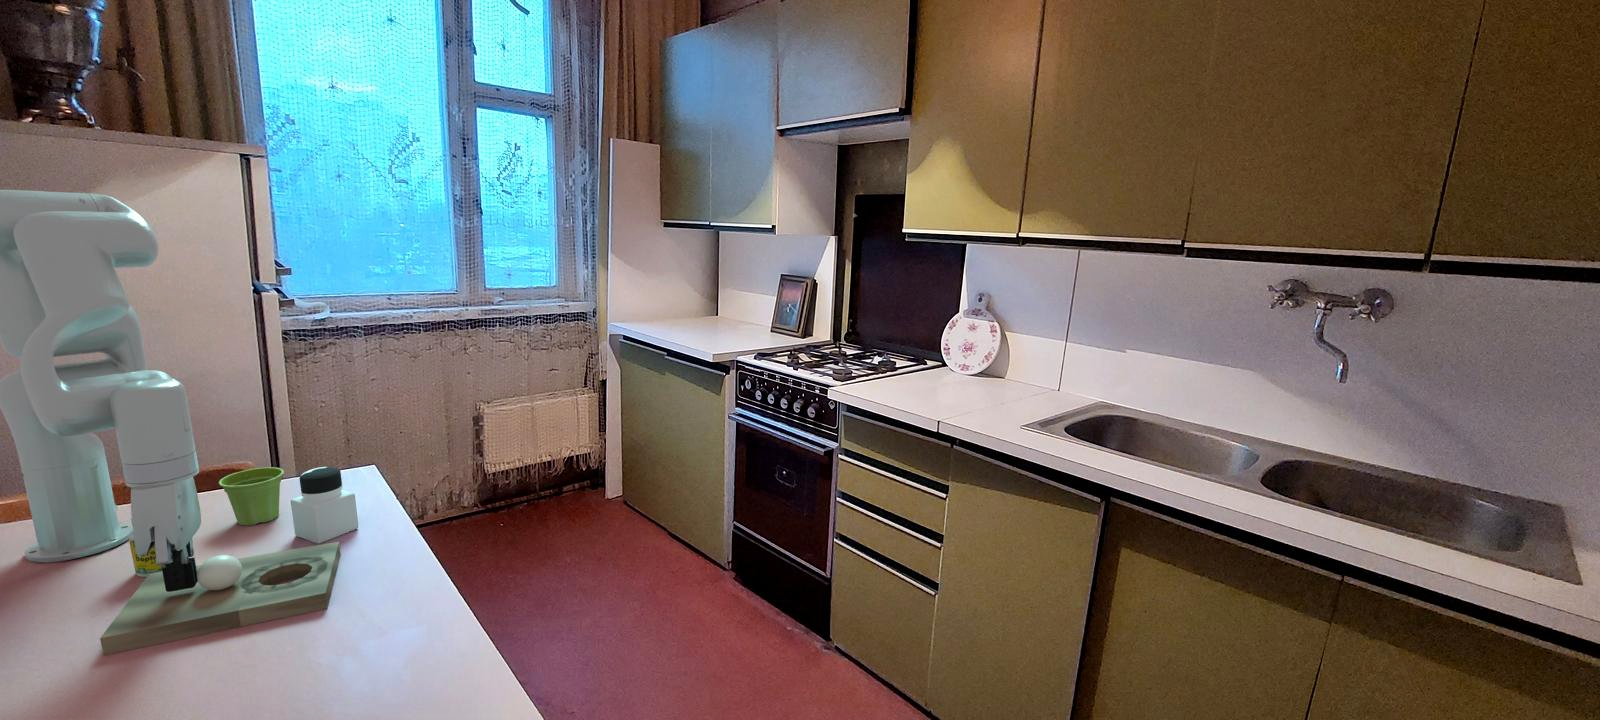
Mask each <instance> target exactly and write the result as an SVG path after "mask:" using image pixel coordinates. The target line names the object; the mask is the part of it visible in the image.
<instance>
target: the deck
mask: <svg viewBox="0 0 1600 720" xmlns="http://www.w3.org/2000/svg"><path fill="white" fill-rule="evenodd" d="M341 555H342V554H341V546H340V541H334V542H329V543H323V544H322V543H321V544H317V545H311V546H305V547H304V546H303V547H299V548H298V547H297V548H294V549H293V548H292V549H288V550H287V549H286V550H281V551H276V552H275V551H274V552H269V553H264V554H259V555H258V554H257V555H251V556H246V557H240V558H237V559H238V560H239V561H240V563H241V565H242V573H241V576H240V578H239V579H238V580H237V581H236V582H235V583H234V584H233V585H232V586H230V587H228V588H225V589H222V590H208V589H206V588H204V587H202V586H201V585H200V584H199V582H197V583H196V585H195V586H194V587H193V588H188V589H183V590H177V591H172V592H167V591H166V589H165V583H164V578H163V572H158V573H152V574H149V575H148V576H147V577H145V579H144V580H143V581H142V583H141V584H140V586H139V587H138V588H137V589H136V591H135V592H134V593H133V594H132V596H131V597H130V598H129V600H128V601H127V603H125V605H124V606H123V607H122V609H121V610H120V612H119V613H118V614H117V616H116V617H115V618H114V619H113V621H112V622H111V623H110V624H109V626H108V627H107V628H106V630H105V631H104V633H102V635H101V636H100V638H99V639H100V641H99V642H100V644H101V650H102V656H108V655H112V654H117V653H121V652H126V651H130V650H135V649H140V648H145V647H149V646H155V645H159V644H163V643H164V644H165V643H169V642H173V641H178V640H183V639H189V638H192V637H193V638H194V637H197V636H202V635H206V634H207V635H208V634H212V633H216V632H217V633H218V632H222V631H227V630H231V629H236V628H240V627H241V628H242V627H245V626H250V625H254V624H258V623H264V622H269V621H273V620H279V619H284V618H286V617H287V618H288V617H293V616H296V615H302V614H306V613H307V614H308V613H311V612H316V611H320V610H321V611H322V610H326V609H328V608H329V603H330V601H331V596H332V593H333V587H334V584H335V579H336V576H337V571H338V569H339V563H340V559H341ZM201 565H202V564H201ZM201 565H199V564H198V565H196V569H197V573H198V570H199V568H200V566H201ZM292 579H294V580H292ZM295 579H296V580H295ZM287 580H292V581H290V582H286V583H281V582H284V581H287ZM278 583H279V584H278ZM280 583H281V584H280Z"/></svg>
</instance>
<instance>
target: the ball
mask: <svg viewBox="0 0 1600 720" xmlns="http://www.w3.org/2000/svg"><path fill="white" fill-rule="evenodd" d="M238 559H239V558H237V557H236V556H233V555H229V554H219V555H216V556H212V557H210V558H209V559H208V558H207V560H205V561H204V562H202V564H201V566H200V568H199V570H198V573H197V580H198V582H199V584H200V585H201V586H202V587H204V588H206V589H208V590H222V589H225V588H228V587H230V586H232V585H233V584H234V583H235V582H236V581H237V580H238V579H239V578H240V576H241V573H242V565H241V563H240V561H239V560H238Z"/></svg>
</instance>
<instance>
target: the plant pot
mask: <svg viewBox="0 0 1600 720" xmlns="http://www.w3.org/2000/svg"><path fill="white" fill-rule="evenodd" d="M284 474H285V471H284V469H283V468H280V467H273V466H272V467H271V466H269V467H256V468H251V469H246V470H241V471H237V472H233V473H231V474H228V475H226V476H224V477H222V478H221V479H219V481H218V485H219V487H222V488H223V491H224V492H225V493H226V495H227V497H228V500H229V502H230V505H231V508H232V511H233V513H234V516H235V519H236V523H237V524H238V525H241V526H254V525H257V524H258V523H268V522H270V521H272V520H275V519H276V518H277V517H278V516H279V515H280V514H279V513H280V495H281V494H280V493H281V492H280V488H281V482H282V478H283V477H282V476H283V475H284Z"/></svg>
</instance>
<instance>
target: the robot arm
mask: <svg viewBox="0 0 1600 720" xmlns="http://www.w3.org/2000/svg"><path fill="white" fill-rule="evenodd" d="M155 234H156V233H155V232H154V231H153V228H152V227H151V226H150V224H149V223H148V222H147V221H146V220H145V218H144V217H142V216H141V215H140V214H139V213H137V211H135V210H133V208H132V207H131V208H130V207H129V206H127V205H126V204H124V203H122V201H119V200H118V199H116V198H114V197H112V196H109V195H105V194H99V193H88V192H67V191H66V192H65V191H63V192H61V191H45V190H23V189H21V190H20V189H0V344H1V346H2V348H3V349H4V351H5V352H6V353H7V354H8V355H9V356H12V357H14V358H18V359H20V370H16V371H14V372H10V373H9V374H6V375H5V376H3V377H2V378H1V379H0V410H1V413H2V414H3V416H4V418H5V420H6V423H7V426H8V427H9V431H10V432H11V434H12V438H13V440H14V444H15V445H14V446H15V448H16V452H17V456H18V460H19V465H20V468H21V473H22V478H23V482H24V487H25V491H26V496H27V500H28V504H29V505H28V506H29V509H30V513H31V520H32V523H33V528H34V531H35V537H36V542H33V543H32V544H31V545H29V546H28V547H27V548H26V549H25V551H24V554H25V555H24V556H25V559H26V560H27V561H30V562H34V563H55V562H57V563H58V562H64V561H70V560H76V559H79V558H84V557H87V556H88V557H89V556H92V555H96V554H99V553H101V552H104V551H108V550H110V549H113V548H116V547H117V546H119V545H122V544H123V543H125V542H126V541H129V538H128V535H129V533H130V531H131V530H133V534H134V542H135V550H136V554H137V555H138V556H140V557H144V556H145V555H147V553H148V552H149V551H150V550H151V549H152V548H153V546H154V545H155V549H156V562H157V565H161V568H162V572H163V578H164V583H165V589H166V591H167V592H172V591H177V590H183V589H188V588H193V587H194V586H195V585H196V583H197V582H198V580H197V569H196V566H197V564H196V557H194V555H195V550H194V549H195V548H194V542H193V537H194V536H195V534H196V533H197V532H198V531H199V529H200V527H201V525H202V514H201V513H202V512H201V508H200V501H199V496H198V491H197V488H196V484H195V483H196V482H195V479H194V477H195V476H197V475H198V474H199V473H200V468H199V467H200V466H199V462H198V455H197V451H196V444H195V438H194V432H193V431H194V430H193V424H192V419H191V414H190V406H189V400H188V393H187V391H186V389H187V388H185V386H184V385H183V383H181V381H178V380H176V379H175V378H172V377H171V376H170V374H168V373H167V372H164V371H162V370H161V371H160V370H156V369H155V370H154V369H151V370H149V369H148V368H149V367H148V362H147V356H146V349H145V343H144V336H143V333H142V327H141V324H140V320H139V317H138V314H137V313H136V311H135V309H134V307H132V306H131V305H130V300H129V299H128V296H127V294H126V291H125V289H124V287H123V285H122V283H121V281H120V278H119V276H118V274H117V270H116V269H117V268H118V269H123V268H124V269H125V268H144V267H148V266H151V265H153V264H154V263H155V262H156V260H157V258H158V255H159V246H158V245H159V244H158V241H157V237H156V235H155ZM97 353H101V354H103V356H104V357H105V358H102V359H95V360H88V361H87V360H86V361H79V362H78V361H77V362H76V361H75V362H65V363H58V364H54V358H60V357H61V358H62V357H71V356H77V355H78V356H79V355H89V354H97ZM112 429H115V434H116V435H115V437H116V441H117V446H118V450H119V456H120V461H121V462H120V463H121V469H122V473H123V478H124V485H125V486H126V487H128V488H130V514H131V518H132V523H131V525H130V524H127V523H120V522H119V520H118V519H119V518H118V515H117V511H118V509H119V507H118V505H117V504H116V503H115V498H114V492H113V489H112V483H111V478H110V472H109V467H108V462H107V455H106V450H105V447H104V443H103V441H102V439H100V438H99V436H97V435H96V434H95V433H96V432H102V431H107V430H108V431H109V430H112Z"/></svg>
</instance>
